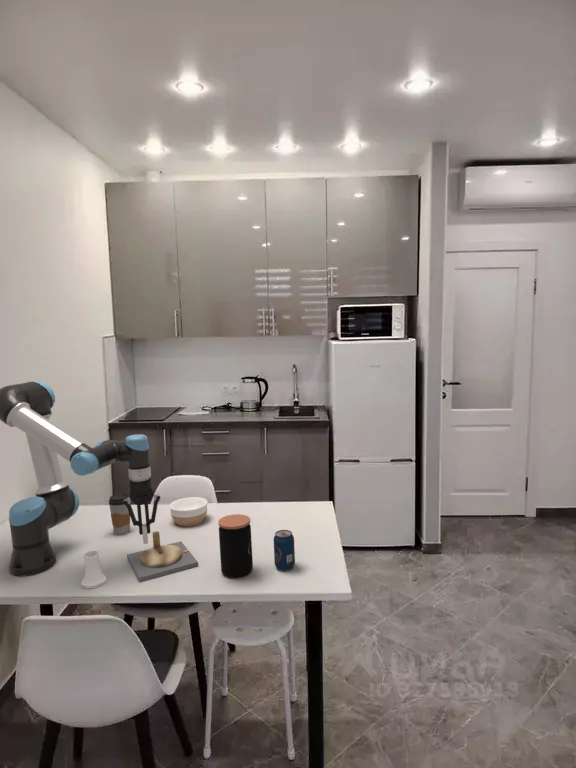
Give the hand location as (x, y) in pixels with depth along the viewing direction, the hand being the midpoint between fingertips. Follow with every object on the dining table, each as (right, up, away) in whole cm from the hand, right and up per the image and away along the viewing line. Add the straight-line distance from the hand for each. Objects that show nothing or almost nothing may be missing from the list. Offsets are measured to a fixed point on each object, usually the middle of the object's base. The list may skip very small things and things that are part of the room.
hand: (145, 542), depth 183 cm
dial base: (+6, -6, -3) cm, 9 cm away
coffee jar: (+34, -6, -12) cm, 37 cm away
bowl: (+9, -2, +34) cm, 35 cm away
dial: (+6, -5, -3) cm, 8 cm away
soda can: (+50, -5, -10) cm, 51 cm away
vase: (-13, -9, -15) cm, 22 cm away
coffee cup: (-17, -4, +26) cm, 31 cm away
